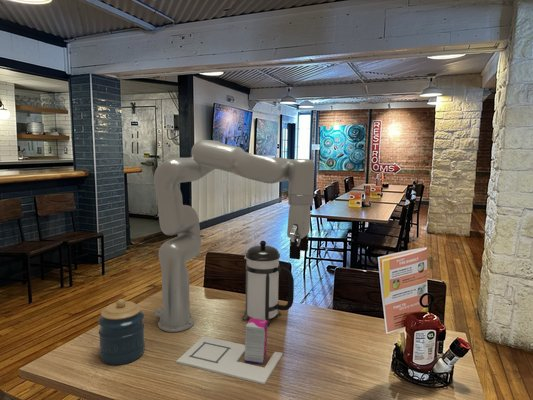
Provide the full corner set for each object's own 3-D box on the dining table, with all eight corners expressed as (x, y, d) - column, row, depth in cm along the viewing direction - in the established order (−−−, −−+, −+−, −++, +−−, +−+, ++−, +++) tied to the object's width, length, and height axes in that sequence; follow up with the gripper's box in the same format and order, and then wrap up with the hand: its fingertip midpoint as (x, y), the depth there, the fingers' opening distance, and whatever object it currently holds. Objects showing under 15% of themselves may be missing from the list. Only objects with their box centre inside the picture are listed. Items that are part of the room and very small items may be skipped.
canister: (130, 368, 107) (128, 310, 105) (90, 363, 109) (87, 306, 107) (152, 345, 120) (151, 293, 117) (115, 341, 122) (113, 289, 120)
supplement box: (263, 364, 110) (263, 328, 108) (243, 362, 111) (244, 326, 110) (267, 354, 116) (267, 319, 114) (248, 352, 117) (249, 317, 115)
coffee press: (246, 330, 131) (247, 247, 127) (239, 311, 147) (239, 236, 143) (293, 325, 135) (295, 245, 131) (281, 307, 151) (283, 235, 147)
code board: (176, 362, 110) (176, 360, 110) (203, 337, 125) (203, 335, 125) (264, 384, 101) (264, 382, 101) (282, 354, 116) (282, 352, 116)
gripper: (296, 196, 122) (295, 246, 124) (280, 202, 106) (278, 260, 108) (319, 197, 120) (317, 249, 122) (305, 204, 104) (303, 263, 106)
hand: (299, 254), depth 115 cm, fingers open, 9 cm apart
